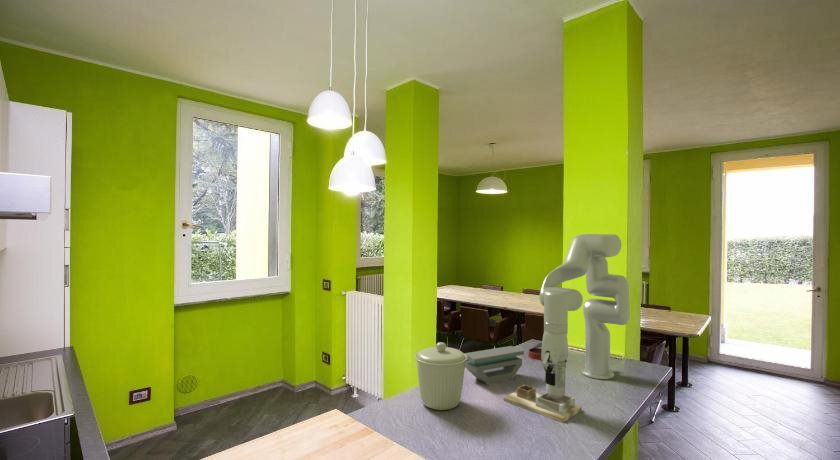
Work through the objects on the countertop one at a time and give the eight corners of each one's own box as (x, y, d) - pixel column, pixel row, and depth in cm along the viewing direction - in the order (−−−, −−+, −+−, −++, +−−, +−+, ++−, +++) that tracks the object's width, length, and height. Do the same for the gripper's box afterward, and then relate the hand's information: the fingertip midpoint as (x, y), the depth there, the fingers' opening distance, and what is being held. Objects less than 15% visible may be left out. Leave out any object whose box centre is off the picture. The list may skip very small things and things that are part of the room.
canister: (439, 389, 149) (439, 333, 150) (477, 404, 136) (478, 343, 137) (403, 403, 137) (404, 342, 137) (442, 421, 124) (442, 353, 124)
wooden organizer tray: (524, 390, 149) (524, 379, 149) (581, 410, 132) (581, 397, 132) (503, 400, 140) (503, 388, 140) (562, 422, 124) (562, 409, 124)
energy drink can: (552, 390, 137) (552, 346, 137) (568, 395, 132) (568, 350, 132) (542, 394, 133) (542, 349, 133) (558, 400, 128) (558, 354, 128)
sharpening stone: (474, 387, 151) (474, 359, 151) (462, 381, 158) (462, 353, 158) (524, 377, 163) (524, 350, 163) (511, 371, 170) (511, 345, 170)
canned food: (534, 369, 186) (524, 350, 186) (531, 360, 196) (522, 342, 196) (556, 360, 184) (546, 341, 184) (553, 351, 194) (543, 333, 194)
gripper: (557, 322, 141) (557, 372, 141) (531, 330, 130) (531, 385, 129) (578, 326, 136) (578, 378, 136) (553, 334, 124) (552, 392, 124)
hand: (555, 381), depth 133 cm, fingers closed on energy drink can, 6 cm apart
